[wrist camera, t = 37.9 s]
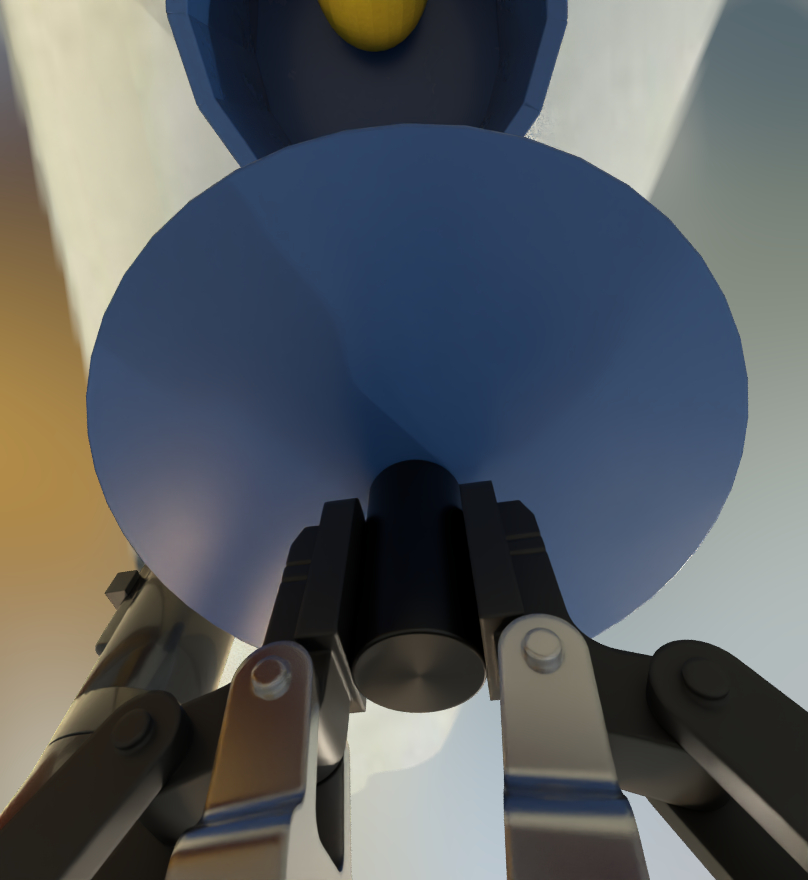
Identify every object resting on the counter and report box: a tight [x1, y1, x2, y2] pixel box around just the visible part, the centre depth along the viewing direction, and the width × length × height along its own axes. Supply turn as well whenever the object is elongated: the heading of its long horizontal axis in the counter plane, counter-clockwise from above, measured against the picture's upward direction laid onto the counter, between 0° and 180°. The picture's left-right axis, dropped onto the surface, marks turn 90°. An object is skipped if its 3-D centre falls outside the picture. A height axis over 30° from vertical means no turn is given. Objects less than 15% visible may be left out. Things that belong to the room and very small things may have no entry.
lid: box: [86, 123, 748, 713], centre depth 11 cm, size 16×16×6 cm
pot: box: [166, 0, 568, 167], centre depth 23 cm, size 15×20×10 cm
